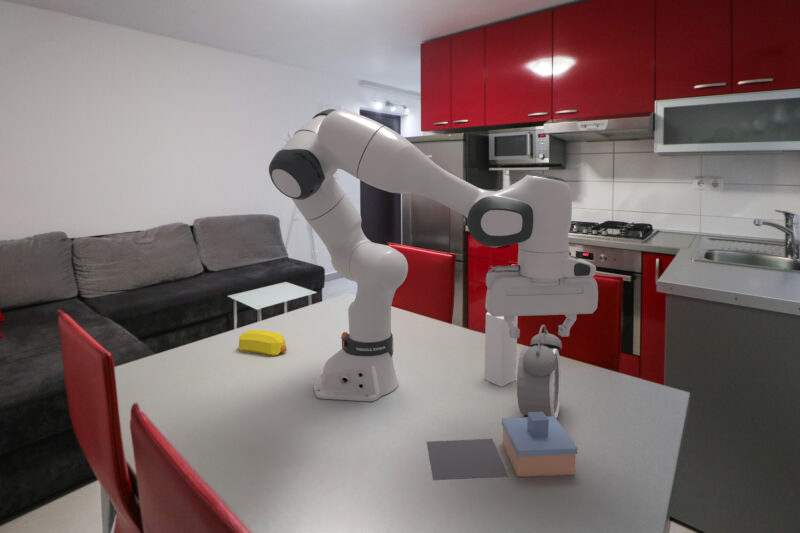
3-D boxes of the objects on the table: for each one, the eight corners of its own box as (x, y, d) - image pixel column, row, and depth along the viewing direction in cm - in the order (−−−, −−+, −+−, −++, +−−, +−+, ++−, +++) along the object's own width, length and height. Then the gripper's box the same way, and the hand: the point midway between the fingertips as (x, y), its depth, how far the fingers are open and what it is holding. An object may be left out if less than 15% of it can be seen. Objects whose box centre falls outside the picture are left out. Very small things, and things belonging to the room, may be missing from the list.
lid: (517, 456, 82) (518, 433, 81) (501, 423, 92) (502, 402, 91) (577, 454, 82) (578, 431, 81) (554, 421, 93) (555, 400, 92)
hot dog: (247, 344, 153) (232, 352, 145) (245, 325, 151) (230, 333, 144) (293, 350, 146) (279, 359, 139) (291, 330, 145) (277, 339, 138)
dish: (517, 479, 83) (518, 455, 82) (502, 445, 93) (503, 424, 92) (574, 477, 83) (575, 453, 82) (552, 443, 94) (553, 421, 93)
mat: (433, 482, 82) (433, 479, 82) (426, 444, 94) (426, 441, 94) (508, 479, 83) (508, 476, 83) (492, 441, 95) (492, 438, 95)
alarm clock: (553, 439, 95) (558, 342, 90) (512, 430, 99) (515, 336, 94) (561, 403, 109) (566, 318, 105) (525, 396, 113) (529, 313, 109)
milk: (501, 387, 118) (503, 307, 114) (483, 379, 123) (485, 302, 118) (515, 380, 122) (518, 303, 117) (498, 372, 127) (500, 298, 122)
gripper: (490, 269, 78) (488, 344, 81) (605, 266, 79) (599, 340, 82) (482, 262, 84) (480, 332, 87) (588, 259, 85) (583, 329, 88)
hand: (538, 336), depth 84 cm, fingers open, 8 cm apart
